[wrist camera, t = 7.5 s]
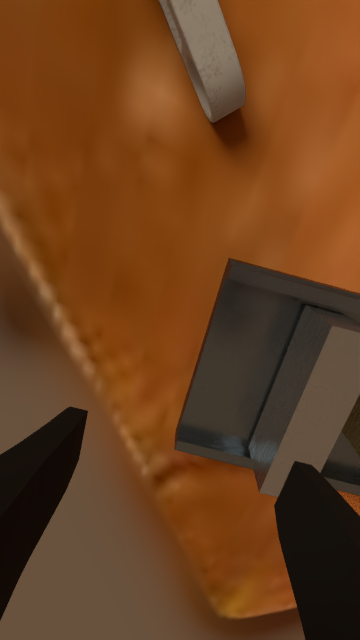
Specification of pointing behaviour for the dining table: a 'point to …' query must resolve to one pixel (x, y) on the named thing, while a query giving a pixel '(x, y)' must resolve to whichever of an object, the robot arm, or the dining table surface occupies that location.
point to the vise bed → (255, 365)
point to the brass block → (353, 427)
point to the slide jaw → (308, 398)
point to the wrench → (207, 54)
